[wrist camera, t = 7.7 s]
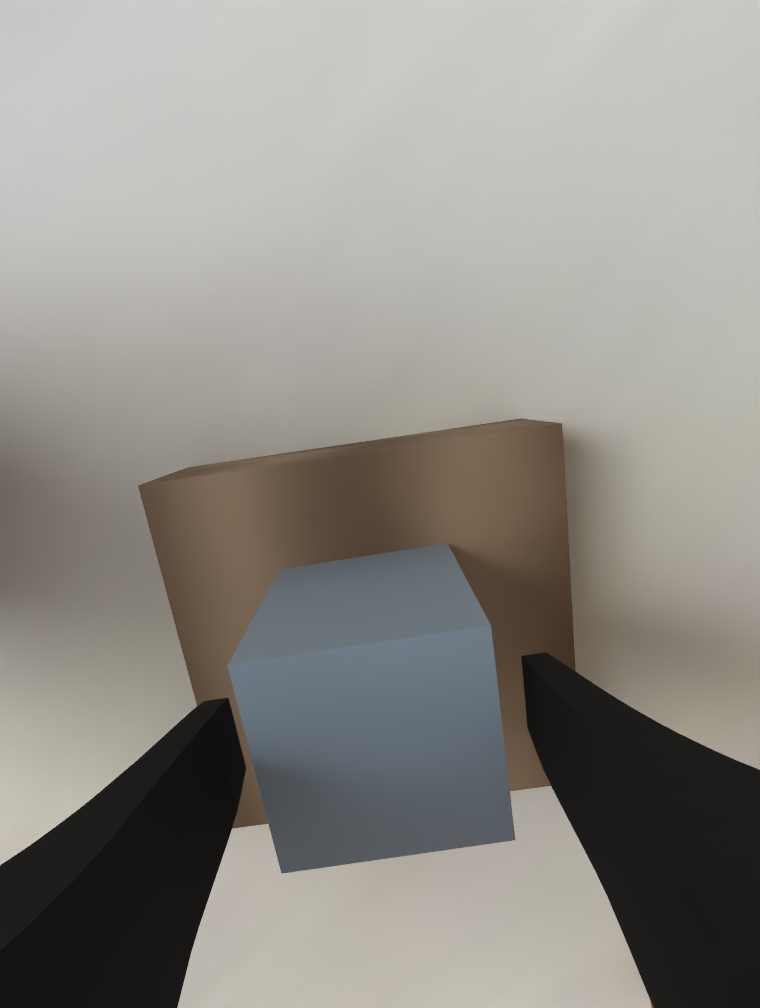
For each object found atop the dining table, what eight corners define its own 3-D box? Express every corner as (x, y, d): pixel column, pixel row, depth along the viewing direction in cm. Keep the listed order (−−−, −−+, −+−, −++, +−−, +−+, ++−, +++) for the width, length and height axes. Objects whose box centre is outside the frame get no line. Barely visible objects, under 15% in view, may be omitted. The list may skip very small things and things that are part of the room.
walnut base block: (258, 742, 19) (230, 828, 15) (193, 465, 17) (138, 485, 13) (538, 703, 19) (581, 781, 15) (517, 418, 16) (561, 423, 13)
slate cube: (311, 714, 15) (281, 873, 10) (279, 569, 13) (227, 665, 9) (466, 691, 14) (514, 840, 10) (447, 543, 13) (490, 625, 8)
